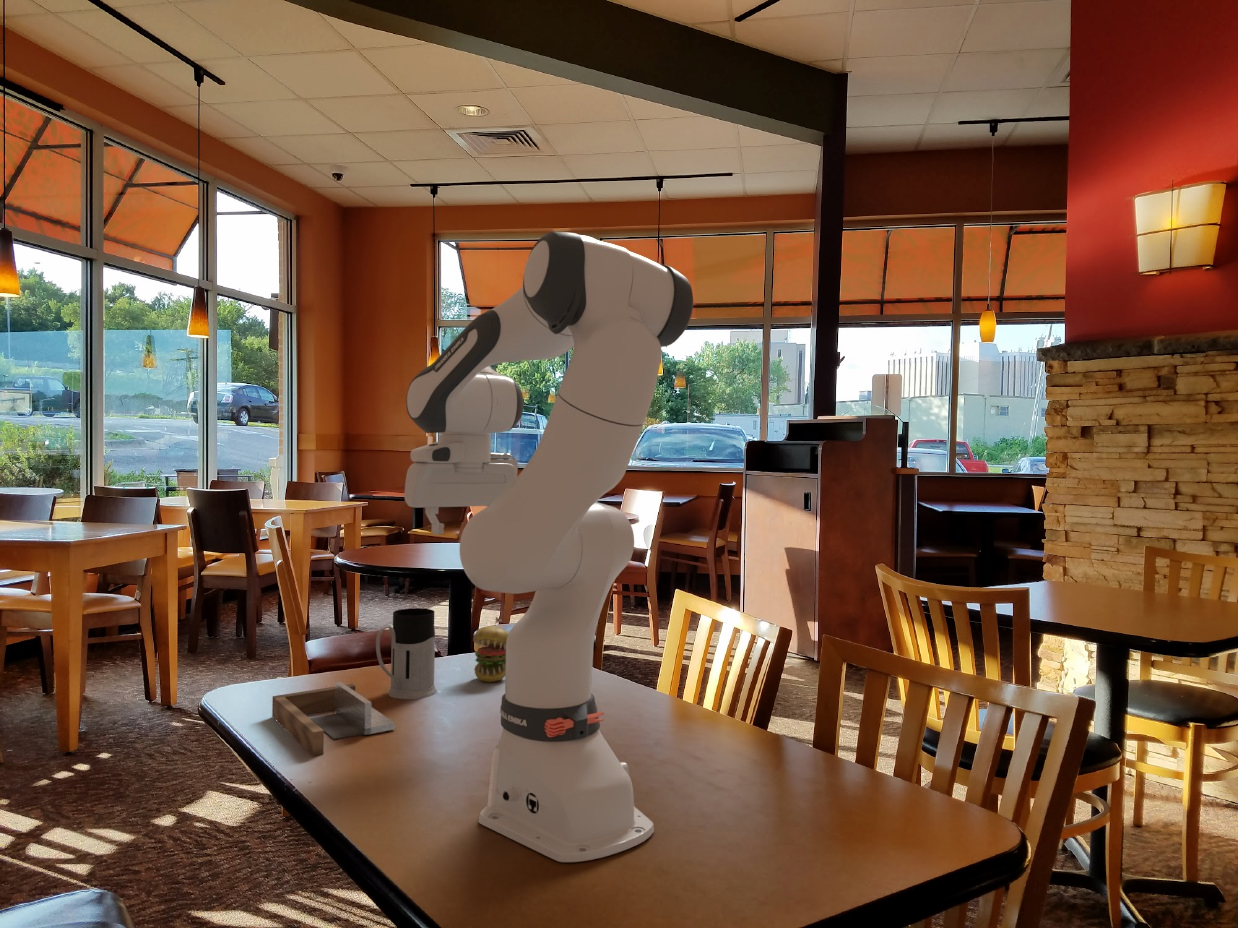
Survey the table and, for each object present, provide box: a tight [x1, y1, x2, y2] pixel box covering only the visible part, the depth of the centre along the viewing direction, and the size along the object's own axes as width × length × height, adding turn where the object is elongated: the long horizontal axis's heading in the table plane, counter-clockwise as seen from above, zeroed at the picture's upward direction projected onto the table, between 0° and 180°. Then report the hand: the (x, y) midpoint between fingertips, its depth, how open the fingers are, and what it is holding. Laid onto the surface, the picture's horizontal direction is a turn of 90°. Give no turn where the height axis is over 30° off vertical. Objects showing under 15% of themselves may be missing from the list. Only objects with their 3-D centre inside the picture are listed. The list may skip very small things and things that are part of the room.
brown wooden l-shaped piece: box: [271, 683, 364, 757], centre depth 135 cm, size 22×14×4 cm, turn 38°
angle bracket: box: [334, 681, 396, 736], centre depth 138 cm, size 14×5×5 cm, turn 38°
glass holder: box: [375, 607, 437, 700], centre depth 153 cm, size 9×14×15 cm, turn 155°
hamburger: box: [472, 616, 509, 683], centre depth 165 cm, size 8×7×12 cm
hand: (463, 532), depth 143 cm, fingers open, 8 cm apart
